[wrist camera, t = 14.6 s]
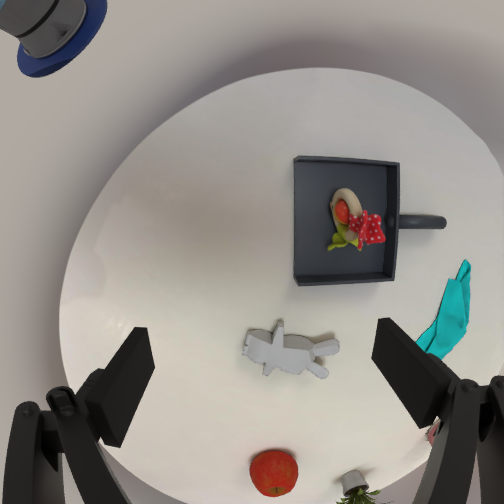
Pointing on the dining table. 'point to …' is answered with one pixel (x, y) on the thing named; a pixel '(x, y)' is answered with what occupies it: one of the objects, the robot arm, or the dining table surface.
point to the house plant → (355, 489)
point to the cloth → (449, 316)
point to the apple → (274, 473)
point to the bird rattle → (353, 222)
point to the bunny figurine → (287, 351)
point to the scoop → (323, 226)
